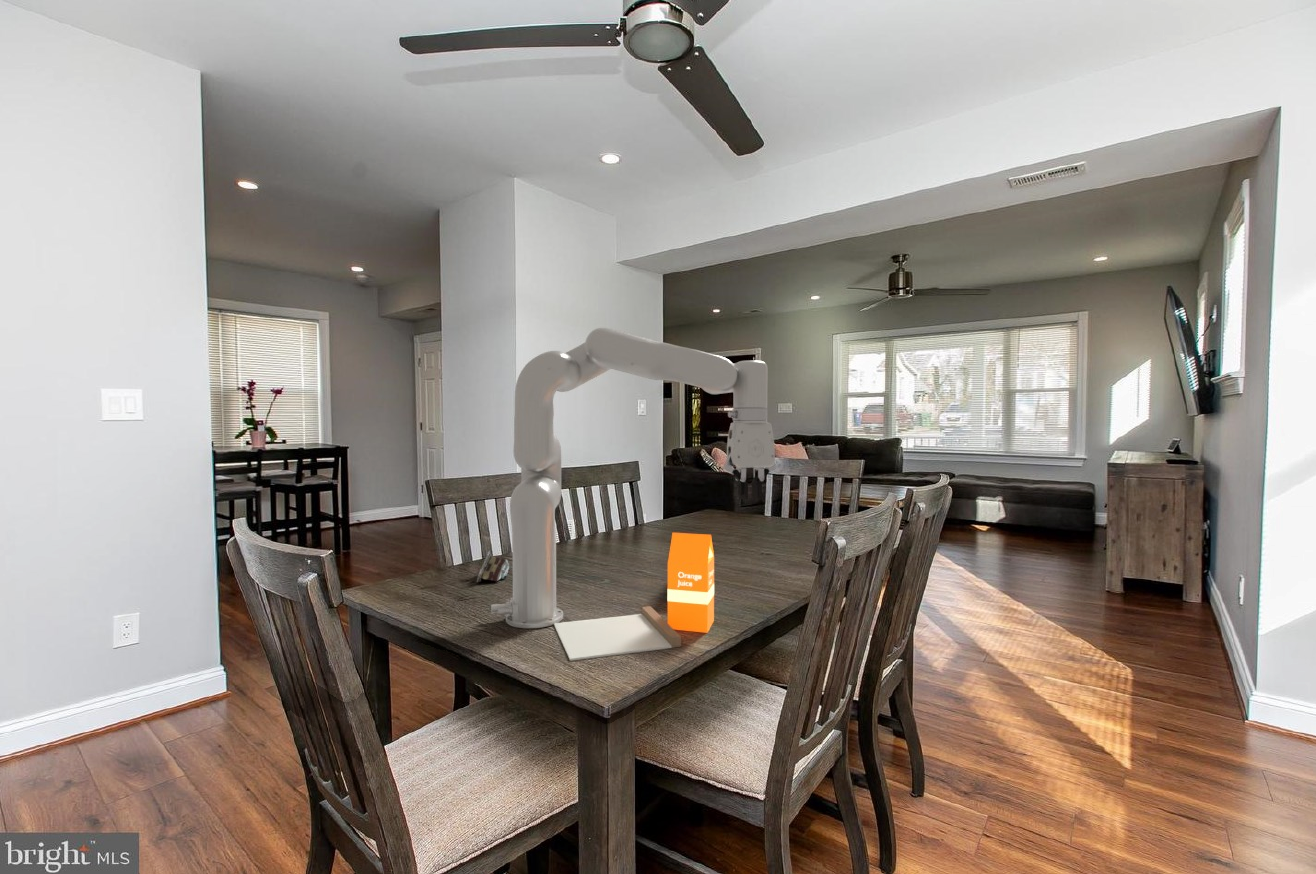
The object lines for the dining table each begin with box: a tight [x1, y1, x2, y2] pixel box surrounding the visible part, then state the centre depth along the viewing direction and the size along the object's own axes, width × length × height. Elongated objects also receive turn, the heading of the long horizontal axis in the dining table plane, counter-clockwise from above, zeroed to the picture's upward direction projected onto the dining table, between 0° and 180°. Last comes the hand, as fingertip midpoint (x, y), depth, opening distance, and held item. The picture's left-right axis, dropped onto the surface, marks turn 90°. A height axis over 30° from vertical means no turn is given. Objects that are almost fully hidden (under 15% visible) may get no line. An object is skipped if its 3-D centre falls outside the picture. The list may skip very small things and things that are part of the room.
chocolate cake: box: [476, 549, 510, 583], centre depth 166 cm, size 10×7×12 cm
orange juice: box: [667, 532, 715, 634], centre depth 130 cm, size 8×9×20 cm
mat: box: [553, 605, 682, 662], centre depth 124 cm, size 22×20×2 cm
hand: (749, 498), depth 134 cm, fingers closed
